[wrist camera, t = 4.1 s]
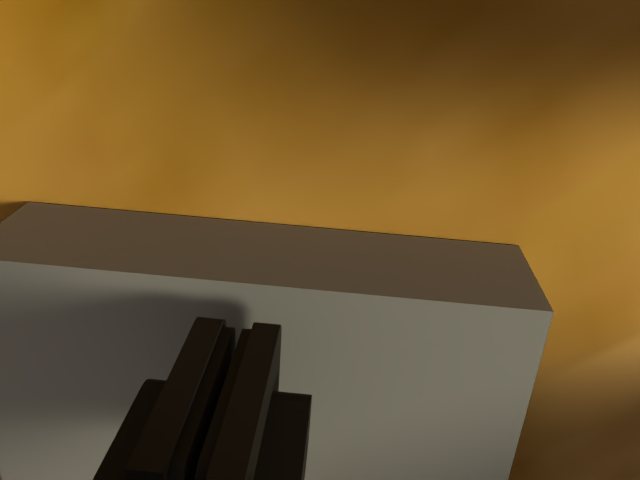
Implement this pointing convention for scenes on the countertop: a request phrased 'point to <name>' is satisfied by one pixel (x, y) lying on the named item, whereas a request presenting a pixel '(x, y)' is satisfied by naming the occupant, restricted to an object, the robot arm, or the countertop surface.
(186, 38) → the countertop surface
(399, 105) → the countertop surface
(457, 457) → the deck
